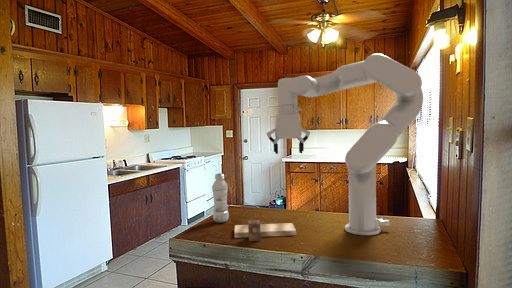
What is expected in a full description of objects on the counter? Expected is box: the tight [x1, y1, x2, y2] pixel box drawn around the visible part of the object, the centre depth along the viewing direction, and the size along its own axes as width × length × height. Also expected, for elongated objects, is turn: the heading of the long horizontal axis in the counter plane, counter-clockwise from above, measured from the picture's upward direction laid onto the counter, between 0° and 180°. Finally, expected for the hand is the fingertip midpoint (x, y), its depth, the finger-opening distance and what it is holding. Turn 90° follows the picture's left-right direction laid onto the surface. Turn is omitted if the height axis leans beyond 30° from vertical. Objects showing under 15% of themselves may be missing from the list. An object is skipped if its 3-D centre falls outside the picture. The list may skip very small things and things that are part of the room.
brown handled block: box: [247, 219, 262, 242], centre depth 118 cm, size 4×13×6 cm, turn 3°
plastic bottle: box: [211, 173, 230, 223], centre depth 136 cm, size 6×7×20 cm
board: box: [234, 222, 297, 239], centre depth 121 cm, size 22×9×2 cm, turn 93°
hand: (288, 153), depth 130 cm, fingers open, 9 cm apart
